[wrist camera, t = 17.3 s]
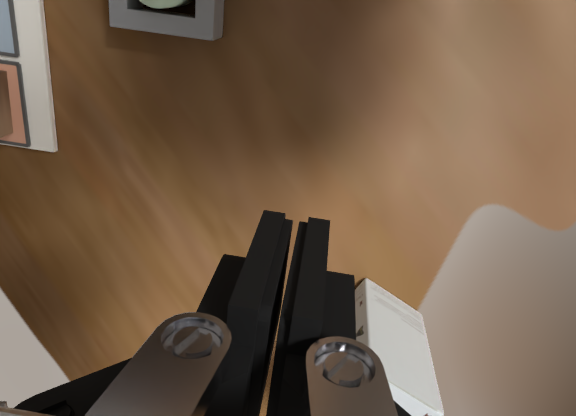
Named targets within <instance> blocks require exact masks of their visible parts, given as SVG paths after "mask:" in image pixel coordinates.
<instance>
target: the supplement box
mask: <svg viewBox="0 0 576 416" xmlns="http://www.w3.org/2000/svg"><path fill="white" fill-rule="evenodd" d="M355 315H356V341H359V342H361V343H363V344H365V345H366V346H368V347H369V348H371V349H372V350H373V351H374V352H375V353H376V354H377V355H378V357H379V358H380V360H381V362H382V364H383V367H384V370H385V373H386V377H387V380H388V383H389V387H390V390H391V393H392V397H393V400H394V401H395V402H396V403H398V404H399V405H400V406H401V407H402V408H403V409H404V410H405V411H407V412H408V413H409V414H410V415H411V416H444V411H443V406H442V402H441V398H440V393H439V389H438V384H437V380H436V376H435V371H434V367H433V362H432V357H431V353H430V348H429V344H428V340H427V335H426V331H425V326H424V322H423V318H422V314H420V313H419V312H418V311H416V310H415V309H413V308H412V307H410V306H409V305H407V304H406V303H404V302H403V301H401V300H400V299H398V298H397V297H395V296H394V295H392V294H391V293H389V292H388V291H386V290H385V289H383V288H382V287H380V286H378V285H377V284H376V283H374V282H372V281H371V280H369V279H367V278H365V279H364V280H363V281H362V283H361V284H360V285H359V286H358V287H357V288H356V290H355Z"/></svg>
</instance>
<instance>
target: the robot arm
mask: <svg viewBox="0 0 576 416" xmlns="http://www.w3.org/2000/svg"><path fill="white" fill-rule="evenodd" d="M292 224H293V220H288V219H285V213H280V212H273V211H267V210H264V211H263V214H262V217H261V219H260V222H259V225H258V227H257V230H256V233H255V235H254V238H253V240H252V243H251V246H250V248H249V251H248V254H247V256H246V258H245V257H239V256H233V255H227V254H224V255H223V257H222V258H221V261H220V263H219V265H218V267H217V269H216V271H215V273H214V275H213V278H212V280H211V282H210V284H209V286H208V288H207V290H206V292H205V295H204V297H203V299H202V301H201V303H200V305H199V307H198V309H197V312H189V313H182V314H178V315H175V316H173V317H170V318H168V319H166V320H165V321H164V322H162V323H161V324H160V325H159V326H158V327H157V328H156V329H155V331H154V332H153V333H152V334H151V335H150V337H149V338H148V339H147V340H146V341H145V343H144V344H143V345H142V346H141V348H140V349H139V350H138V351H137V352H136V354H135V355H134V356H133V357H132V358H130V359H128V360H125V361H122V362H120V363H117V364H115V365H112V366H109V367H107V368H104V369H102V370H99V371H96V372H94V373H91V374H89V375H86V376H84V377H81V378H78V379H76V380H73V381H71V382H68V383H66V384H63V385H60V386H58V387H55V388H52V389H50V390H47V391H45V392H42V393H40V394H37V395H35V396H33V397H31V398H29V399H27V400H25V401H23V402H21V403H20V404H18V405H17V406H16V407H15V408H8V407H7V402H6V401H3V402H2V401H0V416H259V413H260V409H261V404H262V399H263V394H264V389H265V384H266V379H267V375H268V370H269V365H270V360H271V355H272V350H273V345H274V341H275V336H276V331H277V326H278V321H279V316H280V310H281V303H282V296H283V289H284V281H285V274H286V267H287V260H288V253H289V245H290V238H291V231H292ZM329 228H330V220H324V219H318V218H311V217H309V219H308V223H307V222H299V226H298V231H297V236H296V241H295V246H294V251H293V256H292V261H291V265H290V270H289V275H288V280H287V285H286V290H285V295H284V300H283V305H282V310H281V316H280V322H279V328H278V336H277V343H276V350H275V357H274V364H273V371H272V378H271V386H270V393H269V400H268V407H267V414H266V416H411V415H410V414H409V413H408V412H407V411H405V410H404V409H403V408H402V407H401V406H400V405H399V404H398V403H396V402H395V401H394V400H393V397H392V393H391V390H390V387H389V383H388V380H387V377H386V373H385V370H384V367H383V364H382V362H381V360H380V358H379V357H378V355H377V354H376V353H375V352H374V351H373V350H372V349H371V348H369V347H368V346H366V345H365V344H363V343H361V342H359V341H356V315H355V281H354V275H349V274H343V273H337V272H331V271H326V270H327V256H328V242H329Z"/></svg>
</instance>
